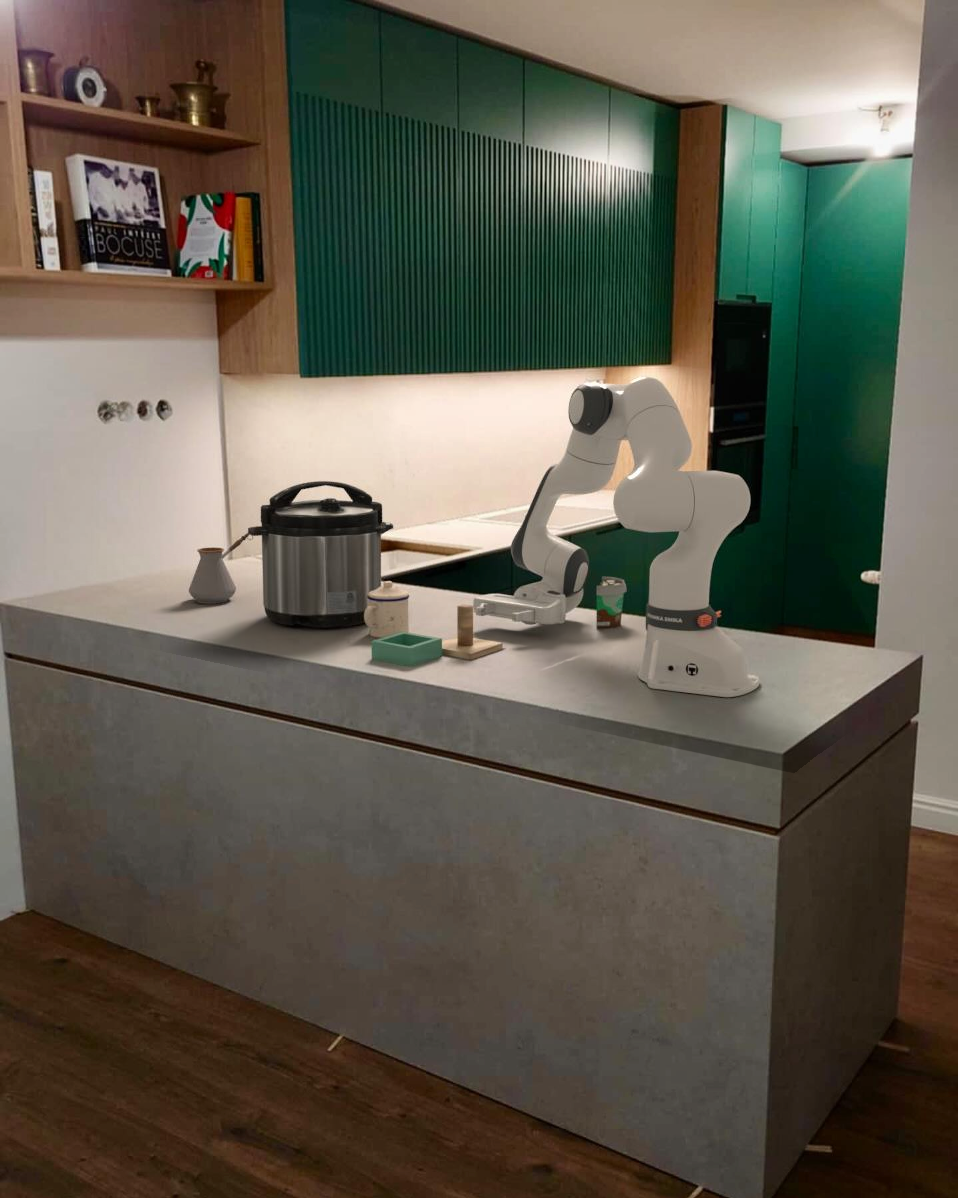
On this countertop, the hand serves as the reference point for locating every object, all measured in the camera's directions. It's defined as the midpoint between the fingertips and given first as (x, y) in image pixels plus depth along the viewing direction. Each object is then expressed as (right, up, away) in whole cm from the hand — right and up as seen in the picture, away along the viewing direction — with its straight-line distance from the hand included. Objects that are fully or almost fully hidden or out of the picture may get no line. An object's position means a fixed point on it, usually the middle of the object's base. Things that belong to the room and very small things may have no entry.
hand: (496, 614), depth 251 cm
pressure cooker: (-40, -1, +24) cm, 47 cm away
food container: (+26, -3, +17) cm, 31 cm away
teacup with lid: (-24, -5, +7) cm, 26 cm away
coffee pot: (-67, +4, +47) cm, 82 cm away
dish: (-18, -9, -13) cm, 24 cm away
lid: (-6, -7, -8) cm, 12 cm away
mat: (-6, -8, -7) cm, 12 cm away
